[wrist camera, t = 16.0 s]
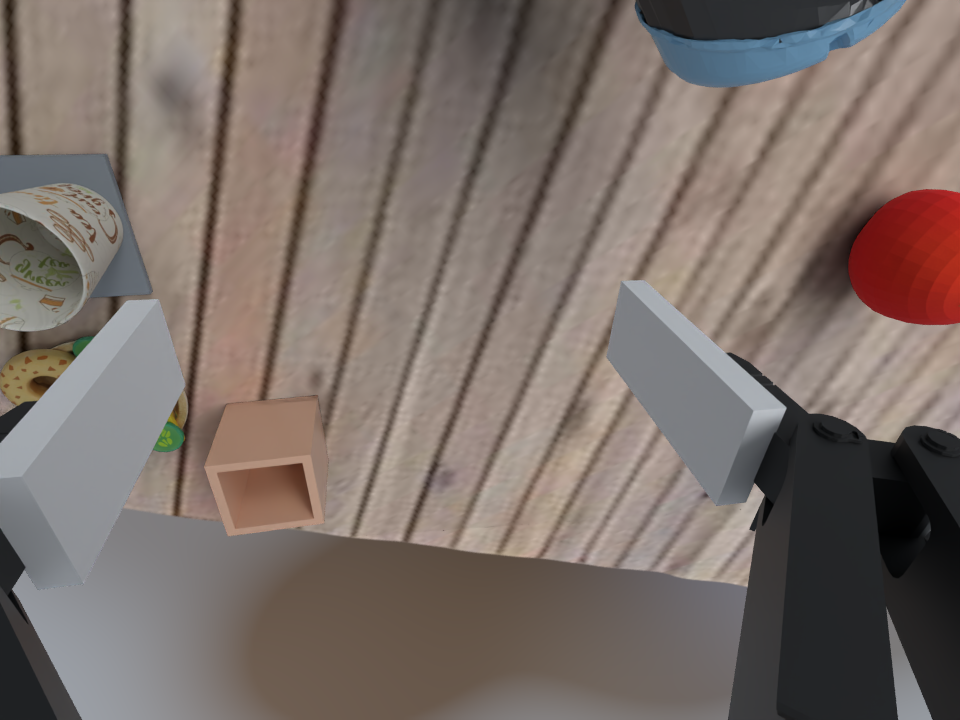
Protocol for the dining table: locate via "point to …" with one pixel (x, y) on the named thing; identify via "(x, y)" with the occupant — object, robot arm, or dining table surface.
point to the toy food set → (43, 367)
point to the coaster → (98, 176)
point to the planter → (269, 465)
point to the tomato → (911, 259)
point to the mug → (53, 253)
